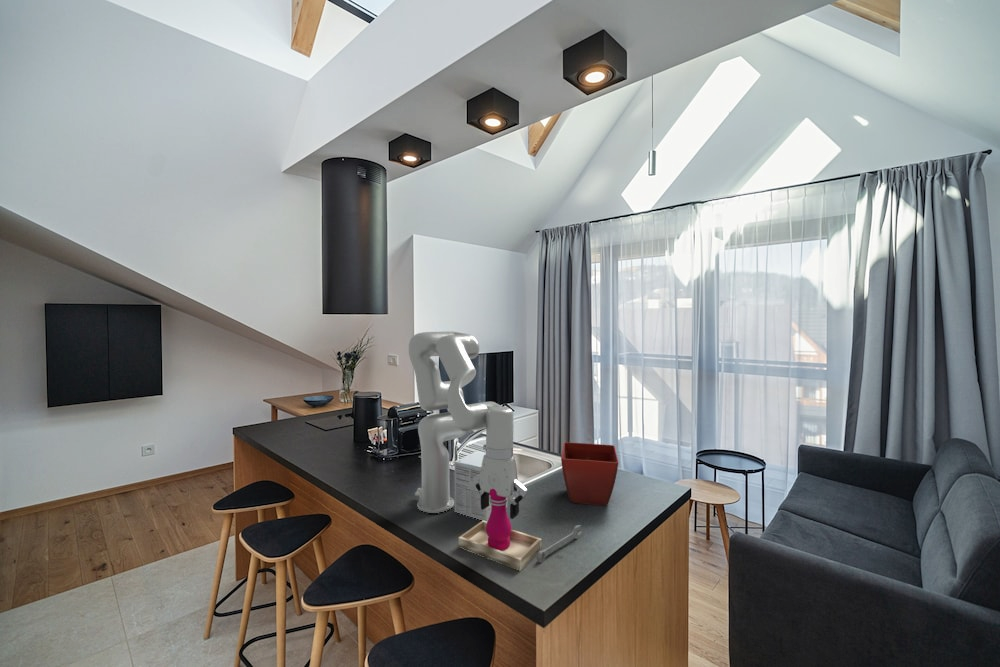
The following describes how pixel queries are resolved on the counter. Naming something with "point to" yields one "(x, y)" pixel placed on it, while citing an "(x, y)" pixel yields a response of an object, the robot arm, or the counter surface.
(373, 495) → the counter surface
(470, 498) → the supplement box
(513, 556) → the wooden tray
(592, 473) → the plant pot
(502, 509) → the pepper mill
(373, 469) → the counter surface
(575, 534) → the combination wrench
